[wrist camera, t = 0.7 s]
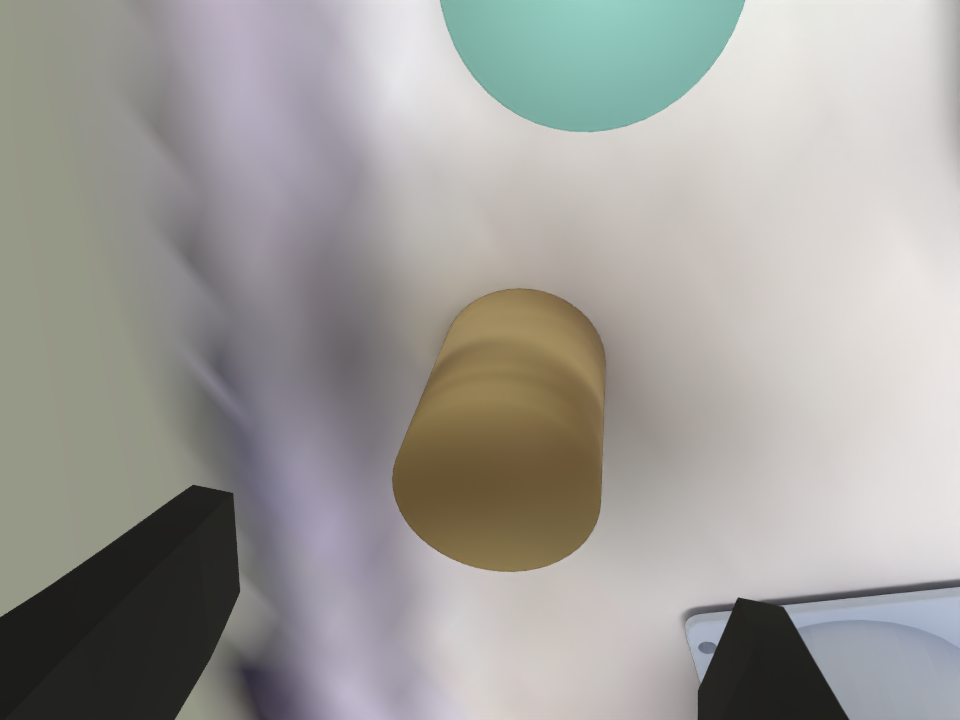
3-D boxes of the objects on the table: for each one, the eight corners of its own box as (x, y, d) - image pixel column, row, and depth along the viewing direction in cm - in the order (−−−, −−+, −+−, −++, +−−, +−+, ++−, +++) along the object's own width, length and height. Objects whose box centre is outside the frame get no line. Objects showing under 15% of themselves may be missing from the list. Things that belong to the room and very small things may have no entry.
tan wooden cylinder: (622, 412, 19) (623, 558, 15) (474, 440, 20) (435, 582, 16) (580, 270, 17) (567, 388, 13) (420, 310, 18) (360, 430, 14)
